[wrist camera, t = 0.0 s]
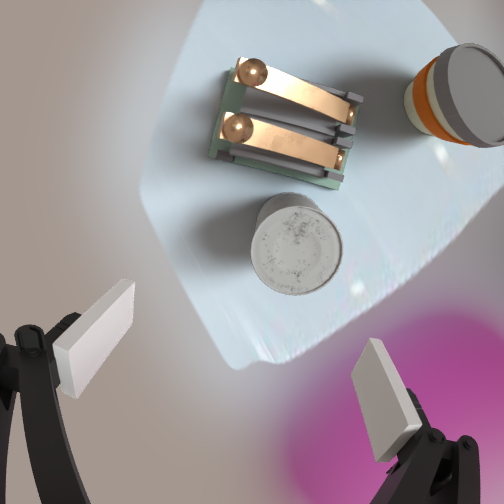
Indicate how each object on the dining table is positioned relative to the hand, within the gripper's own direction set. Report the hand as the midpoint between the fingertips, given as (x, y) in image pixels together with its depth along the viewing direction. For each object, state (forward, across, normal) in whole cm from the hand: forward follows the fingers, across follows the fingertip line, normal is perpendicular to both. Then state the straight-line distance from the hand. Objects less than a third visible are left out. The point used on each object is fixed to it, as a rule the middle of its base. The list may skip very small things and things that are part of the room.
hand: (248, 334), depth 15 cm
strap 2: (+18, 0, +11) cm, 21 cm away
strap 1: (+18, 0, +16) cm, 25 cm away
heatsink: (+28, 0, +14) cm, 31 cm away
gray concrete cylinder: (+28, +4, 0) cm, 28 cm away
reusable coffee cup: (+28, +20, +24) cm, 42 cm away
